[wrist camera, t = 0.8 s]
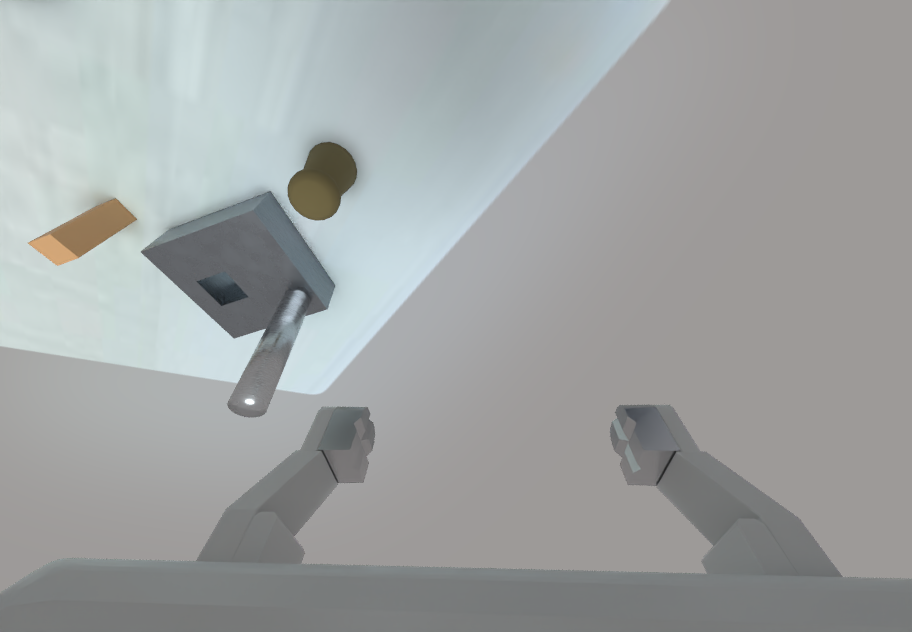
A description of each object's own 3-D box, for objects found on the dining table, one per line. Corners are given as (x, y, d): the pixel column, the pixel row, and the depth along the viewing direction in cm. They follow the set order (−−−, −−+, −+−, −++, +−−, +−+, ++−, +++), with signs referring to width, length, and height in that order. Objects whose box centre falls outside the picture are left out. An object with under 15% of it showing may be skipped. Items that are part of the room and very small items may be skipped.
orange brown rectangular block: (96, 205, 43) (27, 243, 36) (115, 198, 43) (49, 234, 35) (118, 226, 45) (57, 265, 37) (137, 219, 45) (78, 257, 37)
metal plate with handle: (168, 229, 46) (1, 360, 28) (270, 191, 44) (162, 306, 25) (249, 313, 56) (166, 449, 38) (335, 285, 54) (291, 415, 36)
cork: (350, 199, 45) (334, 237, 37) (303, 180, 43) (275, 216, 35) (362, 155, 42) (348, 186, 33) (312, 133, 40) (283, 159, 31)
